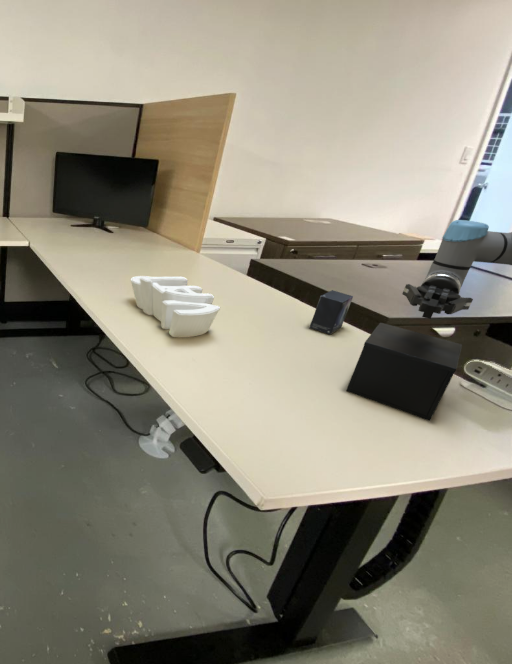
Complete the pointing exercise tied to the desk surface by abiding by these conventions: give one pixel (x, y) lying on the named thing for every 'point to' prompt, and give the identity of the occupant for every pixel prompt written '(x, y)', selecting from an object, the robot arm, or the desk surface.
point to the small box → (330, 312)
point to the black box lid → (415, 346)
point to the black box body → (399, 382)
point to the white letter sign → (175, 304)
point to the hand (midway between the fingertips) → (428, 311)
